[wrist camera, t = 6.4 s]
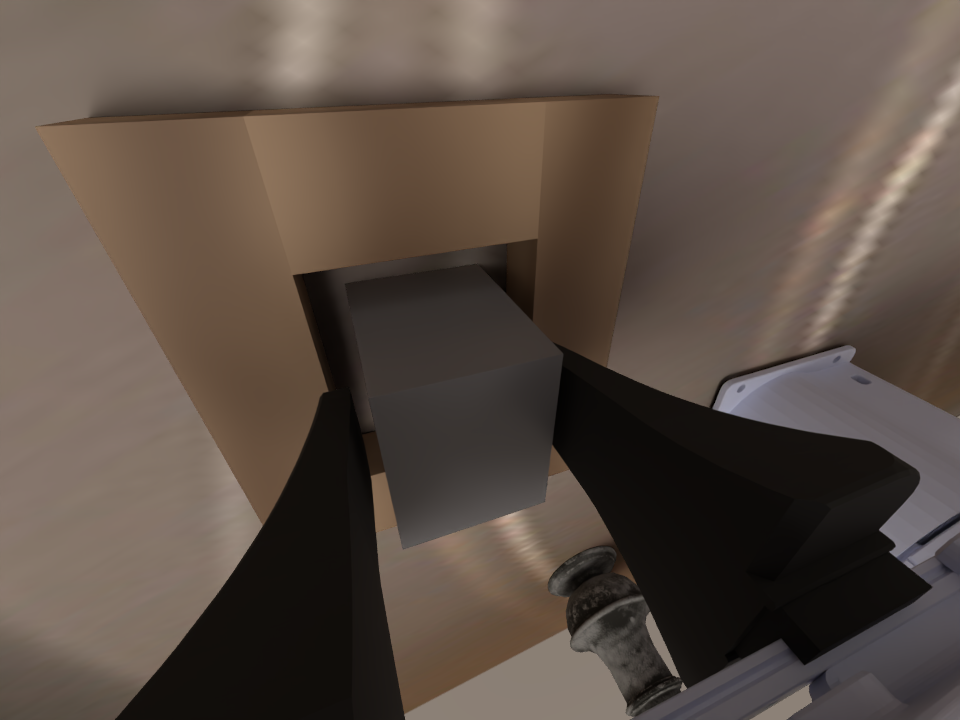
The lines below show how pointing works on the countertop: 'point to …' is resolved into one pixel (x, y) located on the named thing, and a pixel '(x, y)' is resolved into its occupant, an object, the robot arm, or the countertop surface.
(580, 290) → the socket frame
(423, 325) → the plug
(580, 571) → the weathered stone finial
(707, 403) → the countertop surface
